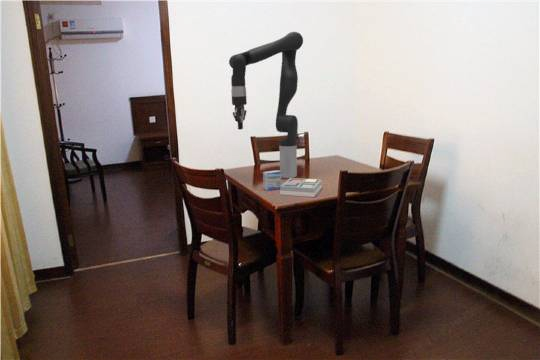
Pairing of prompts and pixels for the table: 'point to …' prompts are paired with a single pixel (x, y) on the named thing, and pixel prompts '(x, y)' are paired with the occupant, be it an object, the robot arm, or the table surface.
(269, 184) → the medicine box
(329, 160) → the table surface
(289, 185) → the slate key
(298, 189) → the keypad
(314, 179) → the cream key
